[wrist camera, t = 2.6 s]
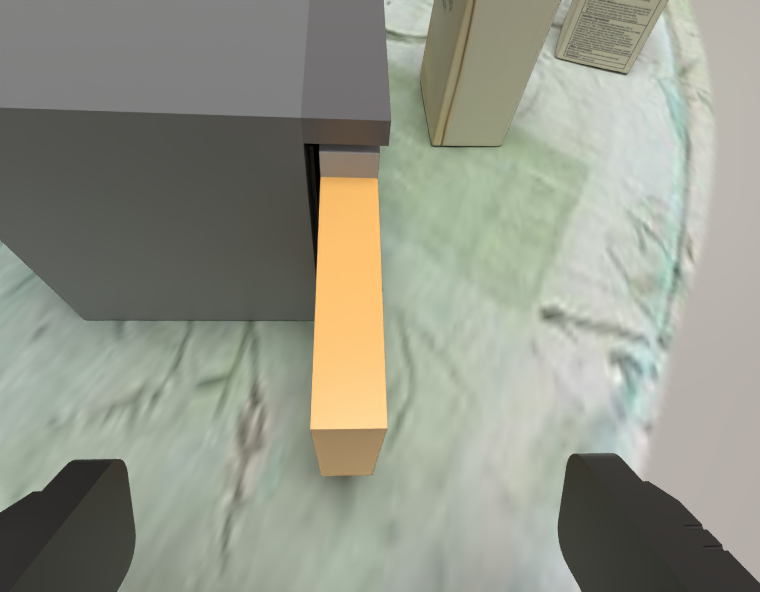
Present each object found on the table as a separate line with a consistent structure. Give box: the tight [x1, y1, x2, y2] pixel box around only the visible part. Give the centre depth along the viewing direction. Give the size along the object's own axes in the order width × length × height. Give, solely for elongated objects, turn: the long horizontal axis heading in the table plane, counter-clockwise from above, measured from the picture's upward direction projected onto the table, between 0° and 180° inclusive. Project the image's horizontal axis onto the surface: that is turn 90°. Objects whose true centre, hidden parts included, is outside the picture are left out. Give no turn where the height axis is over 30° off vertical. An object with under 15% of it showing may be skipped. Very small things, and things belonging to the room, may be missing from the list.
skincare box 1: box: [420, 0, 561, 146], centre depth 23 cm, size 6×4×12 cm
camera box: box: [0, 0, 391, 321], centre depth 19 cm, size 12×15×12 cm
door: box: [310, 144, 387, 476], centre depth 17 cm, size 2×17×9 cm, turn 2°
